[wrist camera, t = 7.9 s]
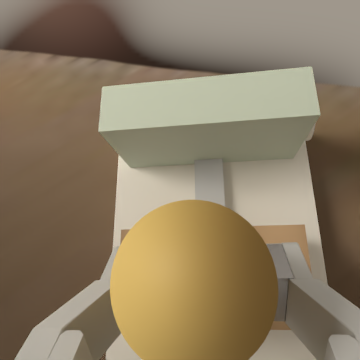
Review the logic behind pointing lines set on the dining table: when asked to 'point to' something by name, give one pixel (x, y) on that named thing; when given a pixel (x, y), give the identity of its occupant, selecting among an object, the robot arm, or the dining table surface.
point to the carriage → (198, 282)
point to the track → (218, 159)
